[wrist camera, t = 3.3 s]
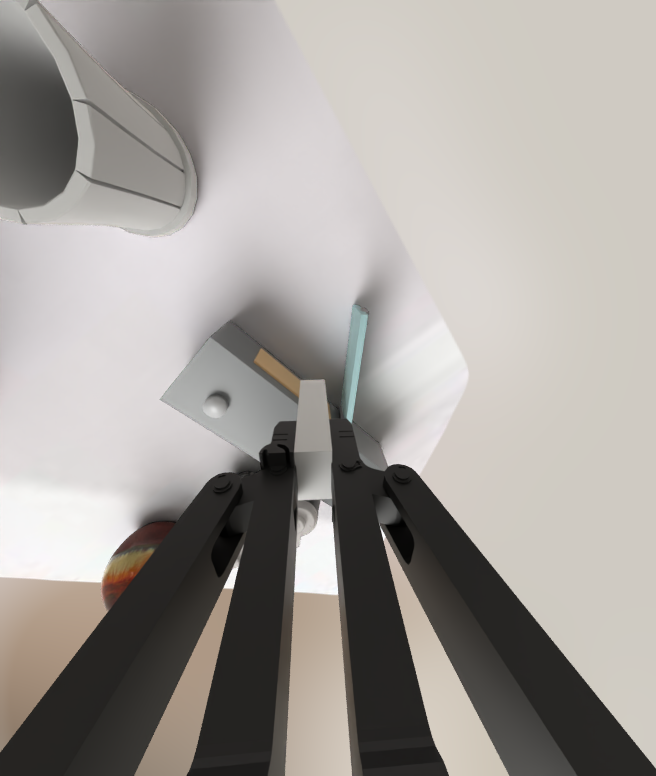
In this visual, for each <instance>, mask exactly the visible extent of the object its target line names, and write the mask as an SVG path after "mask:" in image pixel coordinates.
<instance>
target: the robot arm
mask: <svg viewBox="0 0 656 776" xmlns="http://www.w3.org/2000/svg"><path fill="white" fill-rule="evenodd" d="M259 459H260V465H261V470H260V471H259V472H257V473H256V474H253V475H251V476H247V477H244V478H241V479H240V477H239V476H238V475H237V474H235V473H232V472H229V473H222V474H218V475H216V476H215V477H213V478H211V479H210V480H209V481H208V482H207V483H206V484H205V486H204V487H203V488H202V490H201V491H200V492H199V494H198V495H197V496H196V497H195V499H194V500H193V501H192V503H191V504H190V505H189V507H188V508H187V509H186V511H185V512H184V513H183V514H182V516H181V517H180V518H179V520H178V521H177V522H176V524H175V525H174V526H173V528H172V529H171V530H170V531H169V533H168V534H167V535H166V537H165V538H164V539H163V541H162V542H161V543H160V545H159V546H158V547H157V548H156V550H155V551H154V552H153V554H152V555H151V556H150V558H149V559H148V560H147V562H146V563H145V564H144V565H143V567H142V568H141V569H140V571H139V572H138V573H137V575H136V576H135V577H134V579H133V580H132V581H131V582H130V584H129V585H128V586H127V588H126V589H125V590H124V592H123V593H122V594H121V596H120V597H119V598H118V599H117V601H116V602H115V603H114V605H113V606H112V607H111V609H110V610H109V611H108V613H107V614H106V615H105V617H104V618H103V619H102V620H101V622H100V623H99V624H98V626H97V627H96V629H95V630H94V631H93V632H92V634H91V635H90V636H89V637H88V639H87V640H86V641H85V643H84V644H83V645H82V647H81V648H80V649H79V650H78V652H77V653H76V654H75V656H74V657H73V658H72V660H71V661H70V662H69V664H68V665H67V666H66V668H65V669H64V670H63V671H62V673H61V674H60V675H59V677H58V678H57V679H56V681H55V682H54V683H53V684H52V686H51V687H50V688H49V690H48V691H47V692H46V694H45V695H44V696H43V697H42V699H41V700H40V702H39V703H38V704H37V705H36V707H35V708H34V709H33V711H32V712H31V713H30V714H29V716H28V717H27V718H26V720H25V721H24V722H23V724H22V725H21V726H20V728H19V729H18V730H17V731H16V733H15V734H14V735H13V737H12V738H11V739H10V741H9V742H8V743H7V745H6V746H5V747H4V748H3V750H2V751H1V752H0V776H134V774H135V772H136V770H137V768H138V766H139V764H140V762H141V760H142V758H143V756H144V753H145V751H146V749H147V747H148V745H149V743H150V741H151V739H152V737H153V735H154V732H155V730H156V728H157V726H158V724H159V722H160V720H161V718H162V716H163V713H164V711H165V709H166V707H167V705H168V703H169V701H170V699H171V697H172V695H173V692H174V690H175V688H176V686H177V684H178V682H179V680H180V677H181V676H182V673H183V671H184V669H185V667H186V665H187V663H188V661H189V659H190V657H191V655H192V652H193V650H194V648H195V646H196V644H197V642H198V640H199V638H200V635H201V633H202V631H203V629H204V627H205V625H206V623H207V621H208V619H209V616H210V615H211V612H212V610H213V608H214V606H215V604H216V602H217V600H218V598H219V596H220V593H221V591H222V589H223V587H224V585H225V583H226V581H227V579H228V577H229V575H230V572H231V570H232V568H233V566H234V564H235V562H236V560H237V558H238V556H239V553H240V551H241V549H242V547H243V550H242V555H241V559H240V563H239V568H238V572H237V576H236V580H235V585H234V589H233V593H232V598H231V602H230V606H229V611H228V615H227V620H226V624H225V628H224V633H223V637H222V641H221V645H220V650H219V654H218V658H217V663H216V667H215V671H214V675H213V680H212V684H211V688H210V693H209V697H208V701H207V706H206V710H205V714H204V719H203V723H202V727H201V731H200V736H199V740H198V744H197V748H196V752H195V756H194V759H193V762H192V765H191V768H190V770H189V772H188V774H187V776H285V758H286V740H287V720H288V701H289V681H290V680H289V679H290V661H291V641H292V621H293V602H294V600H293V599H294V582H295V562H296V542H297V523H298V505H297V501H298V500H318V499H332V522H333V528H334V541H335V555H336V568H337V581H338V594H339V607H340V621H341V634H342V646H343V660H344V673H345V686H346V700H347V713H348V726H349V738H350V751H351V765H352V776H449V775H448V772H447V769H446V766H445V764H444V761H443V759H442V758H441V756H440V754H439V752H438V750H437V748H436V746H435V744H434V741H433V738H432V735H431V731H430V728H429V724H428V720H427V716H426V712H425V708H424V704H423V700H422V696H421V692H420V688H419V683H418V679H417V675H416V671H415V667H414V663H413V659H412V655H411V651H410V647H409V643H408V639H407V635H406V631H405V627H404V623H403V619H402V614H401V610H400V606H399V603H398V599H397V595H396V590H395V586H394V582H393V578H392V574H391V570H390V566H389V562H388V558H387V554H386V550H385V546H384V541H383V537H382V533H381V529H380V526H381V528H382V530H383V532H384V534H385V536H386V538H387V539H388V542H389V543H390V545H391V547H392V549H393V551H394V553H395V555H396V557H397V559H398V561H399V563H400V565H401V567H402V569H403V571H404V572H405V574H406V576H407V578H408V580H409V582H410V584H411V586H412V588H413V590H414V592H415V594H416V596H417V598H418V599H419V602H420V603H421V605H422V607H423V609H424V611H425V613H426V615H427V617H428V619H429V621H430V623H431V625H432V627H433V629H434V630H435V633H436V634H437V636H438V638H439V640H440V642H441V644H442V646H443V648H444V650H445V652H446V654H447V656H448V658H449V659H450V661H451V663H452V665H453V667H454V669H455V671H456V673H457V675H458V677H459V679H460V681H461V683H462V685H463V687H464V689H465V691H466V692H467V694H468V696H469V698H470V700H471V702H472V704H473V706H474V708H475V710H476V712H477V714H478V716H479V718H480V720H481V722H482V723H483V725H484V727H485V729H486V731H487V733H488V735H489V737H490V739H491V741H492V743H493V745H494V746H495V749H496V751H497V753H498V754H499V756H500V758H501V760H502V762H503V764H504V766H505V768H506V770H507V772H508V774H509V776H656V768H655V767H654V766H653V765H652V763H651V762H650V761H649V760H648V758H647V757H646V756H645V755H644V753H643V752H642V751H641V750H640V748H639V747H638V746H637V745H636V744H635V742H634V741H633V740H632V739H631V737H630V736H629V735H628V734H627V732H626V731H625V730H624V729H623V727H622V726H621V725H620V724H619V723H618V721H617V720H616V719H615V718H614V716H613V715H612V714H611V713H610V711H609V710H608V709H607V708H606V707H605V705H604V704H603V703H602V702H601V700H600V699H599V698H598V697H597V695H596V694H595V693H594V692H593V690H592V689H591V688H590V687H589V685H588V684H587V683H586V682H585V680H584V679H583V678H582V677H581V676H580V674H579V673H578V672H577V671H576V670H575V668H574V667H573V666H572V665H571V663H570V662H569V661H568V660H567V658H566V657H565V656H564V654H563V653H562V652H561V651H560V650H559V648H558V647H557V646H556V645H555V644H554V642H553V641H552V640H551V638H550V637H549V636H548V635H547V633H546V632H545V631H544V630H543V629H542V627H541V626H540V625H539V624H538V622H536V620H535V619H534V617H533V616H532V615H531V614H530V613H529V611H528V610H527V609H526V608H525V606H524V605H523V604H522V603H521V602H520V600H519V599H518V598H517V596H516V595H515V594H514V593H513V592H512V590H511V589H510V588H509V586H508V585H507V584H506V583H505V582H504V580H503V579H502V578H501V577H500V575H499V574H498V573H497V572H496V570H495V569H494V568H493V567H492V565H491V564H490V563H489V562H488V561H487V559H486V558H485V557H484V556H483V554H482V553H481V552H480V551H479V549H478V548H477V547H476V546H475V544H474V543H473V542H472V541H471V539H470V538H469V537H468V536H467V535H466V533H465V532H464V531H463V530H462V528H461V527H460V526H459V525H458V523H457V522H456V521H455V520H454V518H453V517H452V516H451V515H450V514H449V512H448V511H447V510H446V509H445V508H444V506H443V505H442V504H441V502H440V501H439V500H438V499H437V497H436V496H435V495H434V494H433V492H432V491H431V490H430V489H429V488H428V486H427V485H426V484H425V483H424V481H423V480H422V479H421V478H420V476H419V475H418V474H417V473H416V472H415V471H414V470H413V469H412V468H410V467H408V466H406V465H401V464H395V465H391V466H389V467H387V469H386V470H385V471H381V470H377V469H373V468H370V467H368V466H367V465H365V464H364V463H363V461H362V460H361V459H360V456H359V452H358V448H357V443H356V439H355V435H354V432H353V426H352V424H351V422H350V421H349V420H348V419H347V418H344V419H329V415H328V405H327V395H326V386H325V379H321V380H301V381H300V392H299V403H298V414H297V421H279V423H278V424H277V425H276V426H275V427H274V431H273V436H272V441H271V443H270V444H268V445H266V446H264V447H263V448H262V449H261V450H260V452H259ZM379 523H380V525H379ZM243 545H244V546H243Z"/></svg>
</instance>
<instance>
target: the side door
mask: <svg viewBox="0 0 656 776" xmlns="http://www.w3.org/2000/svg"><path fill="white" fill-rule="evenodd" d="M368 316H369V311H368V310H367V309H366V308H361V307H360V306H359V305H353V307H352V315H351V324H350V332H349V340H348V348H347V356H346V365H345V373H344V381H343V389H342V397H341V405H340V406H339V414H340V419H344V418H347V419H348V420H349V421H350V422H351V424H352V419H353V412H354V405H355V399H356V392H357V385H358V379H359V372H360V366H361V359H362V352H363V346H364V339H365V332H366V326H367V323H368Z"/></svg>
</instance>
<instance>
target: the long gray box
mask: <svg viewBox="0 0 656 776" xmlns="http://www.w3.org/2000/svg"><path fill="white" fill-rule="evenodd" d="M301 380H302V379H301V378H299V377H298V376H297V375H296V374H295V373H293V372H292V371H291V370H290V369H289V368H287V367H286V366H285V365H284V364H283V363H281V362H280V361H279V360H278V359H277V358H275V357H274V356H273V355H272V354H270V353H269V352H268V351H267V350H266V349H264V348H263V347H262V346H261V345H260V344H258V343H257V342H256V341H255V340H254V339H252V338H251V337H250V336H249V335H248V334H246V333H245V332H244V331H243V330H241V329H240V328H239V327H238V326H237V325H235V324H234V323H233V322H232V321H231V320H230V321H229V322H227V323H226V324H225V325H224V326H223V327H221V328H220V329H219V330H218V331H217V332H215V333H214V334H213V335H212V336H211V337H210V338H209V339H208V340H207V341H206V343H205V344H204V345H203V346H202V348H201V349H200V350H199V351H198V353H197V354H196V355H195V356H194V357H193V359H192V360H191V361H190V362H189V364H188V365H187V366H186V367H185V369H184V370H183V371H182V372H181V374H180V375H179V376H178V377H177V378H176V380H175V381H174V382H173V383H172V385H171V386H170V387H169V388H168V390H167V391H166V392H165V393H164V395H163V396H162V397H161V398H160V400H161V401H163V402H164V403H166V404H168V405H169V406H171V407H172V408H174V409H176V410H177V411H179V412H181V413H182V414H184V415H185V416H187V417H189V418H190V419H192V420H193V421H195V422H197V423H198V424H200V425H201V426H203V427H205V428H206V429H208V430H209V431H211V432H213V433H214V434H216V435H217V436H219V437H221V438H222V439H224V440H225V441H227V442H229V443H230V444H232V445H234V446H235V447H237V448H238V449H240V450H242V451H243V452H245V453H246V454H248V455H250V456H251V457H253V458H254V459H256V460H258V461H259V462H260V459H259V452H260V450H261V449H262V448H263V447H264V446H266V445H268V444H270V443H271V441H272V436H273V431H274V427H275V426H276V425H277V424H278V423H279V421H297V414H298V403H299V392H300V381H301ZM327 405H328V415H329V419H340V414H339V410H338V409H337V408H336V407H335V406H333V405H332V404H331V403H330V402H329V401H327ZM352 426H353V432H354V435H355V439H356V443H357V448H358V452H359V456H360V459H361V460H362V461H363V463H364V464H365V465H367V466H368V467H370V468H373V469H377V470H381V471H385V470H386V469H387V467H388V465H387V462H386V460H385V457H384V454H383V451H382V449H381V446H380V444H379V443H378V442H377V441H376V440H374V439H373V438H372V437H371V436H370V435H368V434H367V433H366V432H365V431H364V430H362V429H361V428H360V427H359V426H358V425H356V424H355V423H354V422H353V421H352ZM320 500H322V501H323V502H325V503H327V504H328V505H330V506H331V507H332V499H320Z"/></svg>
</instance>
